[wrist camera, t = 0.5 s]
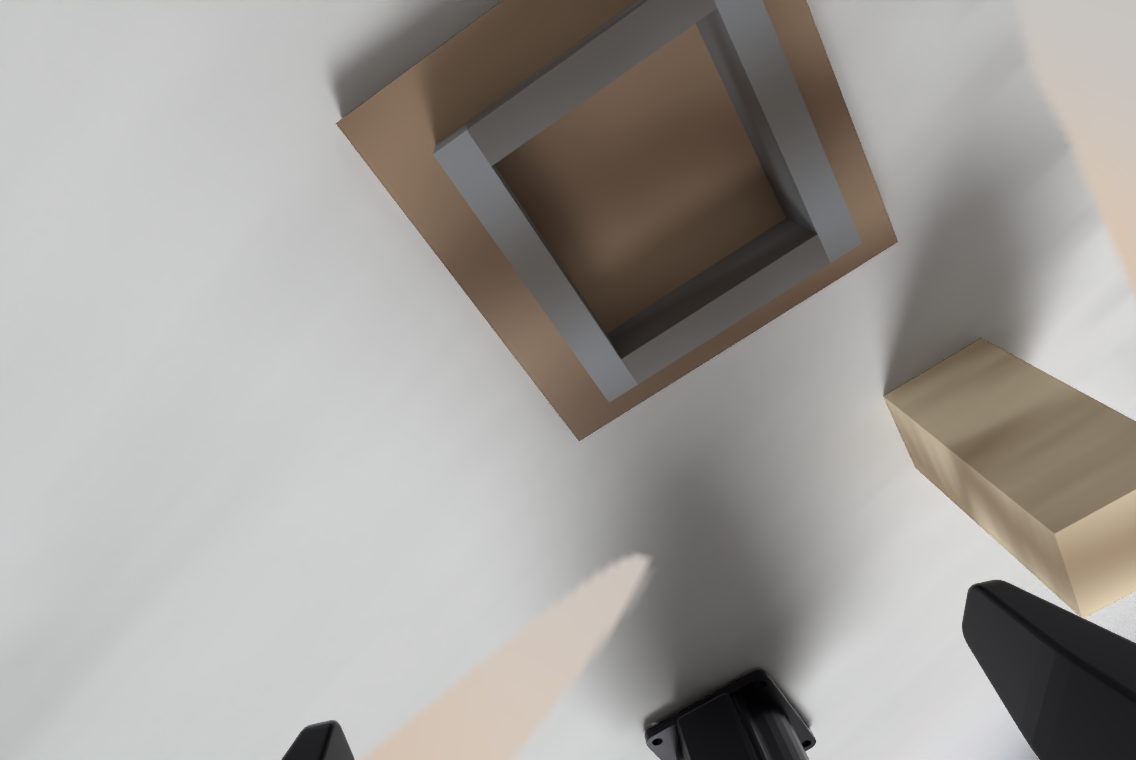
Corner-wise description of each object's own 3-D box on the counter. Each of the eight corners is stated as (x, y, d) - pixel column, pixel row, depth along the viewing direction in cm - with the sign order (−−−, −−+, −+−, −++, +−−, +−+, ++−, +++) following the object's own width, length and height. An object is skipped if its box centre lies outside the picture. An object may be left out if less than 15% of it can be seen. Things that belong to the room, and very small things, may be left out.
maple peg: (1007, 414, 26) (1213, 550, 19) (915, 467, 26) (1082, 618, 19) (981, 337, 24) (1198, 455, 17) (883, 396, 25) (1054, 534, 18)
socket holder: (880, 234, 22) (938, 259, 19) (574, 426, 23) (589, 474, 21) (724, -162, 16) (775, -205, 14) (342, 120, 18) (321, 130, 15)
